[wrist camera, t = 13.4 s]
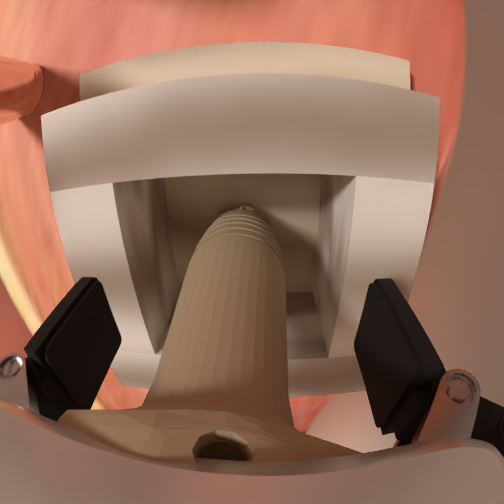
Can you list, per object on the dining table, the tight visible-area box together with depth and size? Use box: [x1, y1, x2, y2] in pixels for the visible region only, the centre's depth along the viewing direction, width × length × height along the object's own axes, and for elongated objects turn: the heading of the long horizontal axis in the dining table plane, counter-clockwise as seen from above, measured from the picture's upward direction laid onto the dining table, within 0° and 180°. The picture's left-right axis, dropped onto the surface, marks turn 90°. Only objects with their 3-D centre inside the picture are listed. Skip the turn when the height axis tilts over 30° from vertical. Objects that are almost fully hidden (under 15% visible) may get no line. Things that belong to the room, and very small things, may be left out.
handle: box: [57, 203, 362, 463], centre depth 10 cm, size 5×6×15 cm
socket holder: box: [41, 42, 440, 397], centre depth 15 cm, size 22×20×7 cm
